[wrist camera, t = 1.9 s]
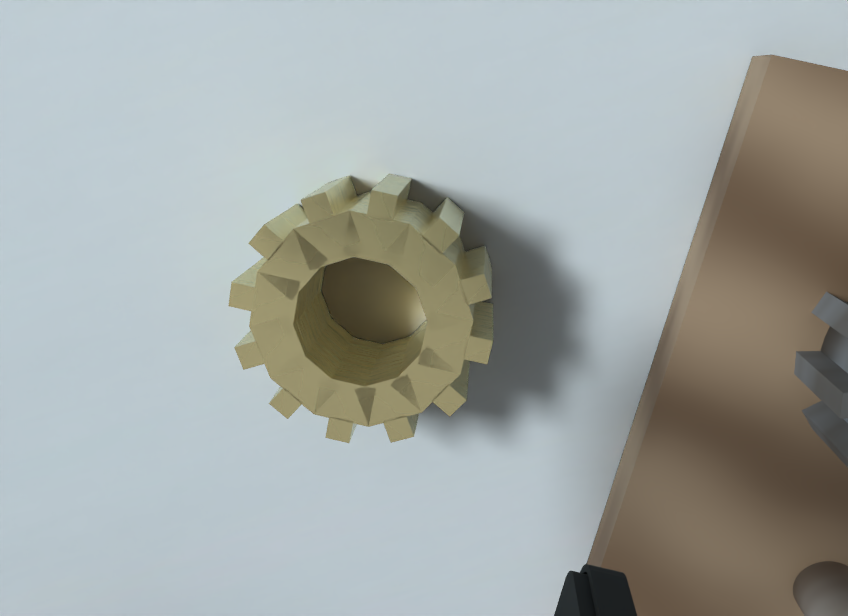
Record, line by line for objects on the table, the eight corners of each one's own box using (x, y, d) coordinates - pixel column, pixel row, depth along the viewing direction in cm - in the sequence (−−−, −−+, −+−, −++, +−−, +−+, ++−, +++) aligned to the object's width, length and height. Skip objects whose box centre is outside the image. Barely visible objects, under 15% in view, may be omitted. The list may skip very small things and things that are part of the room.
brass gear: (283, 150, 23) (247, 162, 19) (517, 202, 22) (522, 223, 19) (252, 367, 25) (214, 412, 21) (465, 416, 25) (460, 468, 21)
